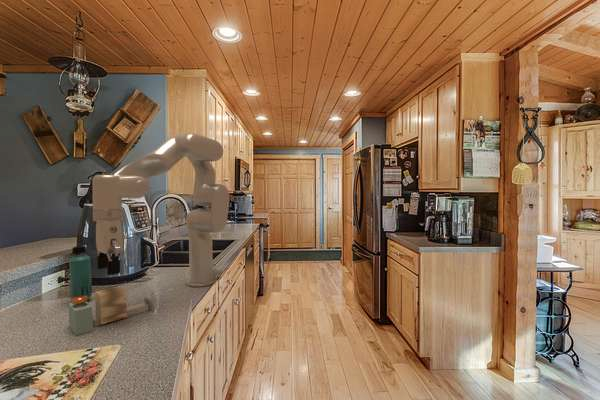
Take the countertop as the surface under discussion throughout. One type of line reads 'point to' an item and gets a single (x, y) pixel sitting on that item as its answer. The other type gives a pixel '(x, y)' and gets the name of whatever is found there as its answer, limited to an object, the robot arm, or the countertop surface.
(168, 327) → the countertop surface
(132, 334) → the countertop surface
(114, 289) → the light wood block
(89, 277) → the beverage bottle
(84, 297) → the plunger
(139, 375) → the countertop surface
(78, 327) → the grey-green rectangular block
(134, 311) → the rail
